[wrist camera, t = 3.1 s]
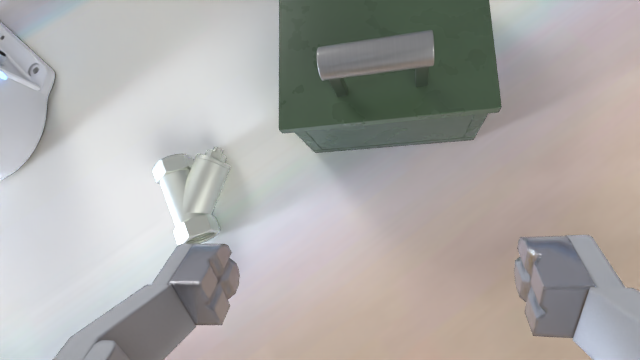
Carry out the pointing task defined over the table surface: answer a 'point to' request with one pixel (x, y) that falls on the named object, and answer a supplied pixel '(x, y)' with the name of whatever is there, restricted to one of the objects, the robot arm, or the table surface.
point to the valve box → (394, 134)
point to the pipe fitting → (193, 192)
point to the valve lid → (384, 62)
